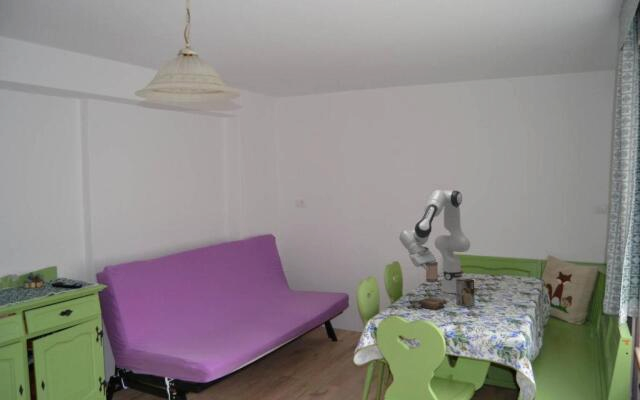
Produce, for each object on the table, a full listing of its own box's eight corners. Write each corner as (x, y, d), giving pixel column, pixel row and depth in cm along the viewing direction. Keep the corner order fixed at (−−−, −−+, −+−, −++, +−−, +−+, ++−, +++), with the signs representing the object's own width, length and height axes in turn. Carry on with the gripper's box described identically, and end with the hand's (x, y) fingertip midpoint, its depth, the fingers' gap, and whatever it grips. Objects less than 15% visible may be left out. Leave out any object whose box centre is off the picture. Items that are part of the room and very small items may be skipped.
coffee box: (469, 303, 314) (468, 278, 314) (474, 305, 308) (474, 279, 308) (456, 304, 312) (455, 279, 311) (461, 307, 306) (461, 281, 305)
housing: (430, 280, 310) (430, 261, 310) (437, 281, 307) (437, 261, 306) (426, 281, 307) (426, 262, 306) (433, 282, 303) (433, 262, 303)
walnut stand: (429, 303, 316) (429, 297, 315) (446, 306, 307) (446, 300, 307) (418, 307, 307) (418, 300, 307) (435, 310, 299) (435, 303, 298)
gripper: (411, 250, 304) (425, 268, 298) (429, 247, 319) (443, 264, 312) (405, 257, 307) (418, 275, 301) (423, 253, 322) (436, 270, 315)
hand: (431, 269), depth 307 cm, fingers closed on housing, 5 cm apart
